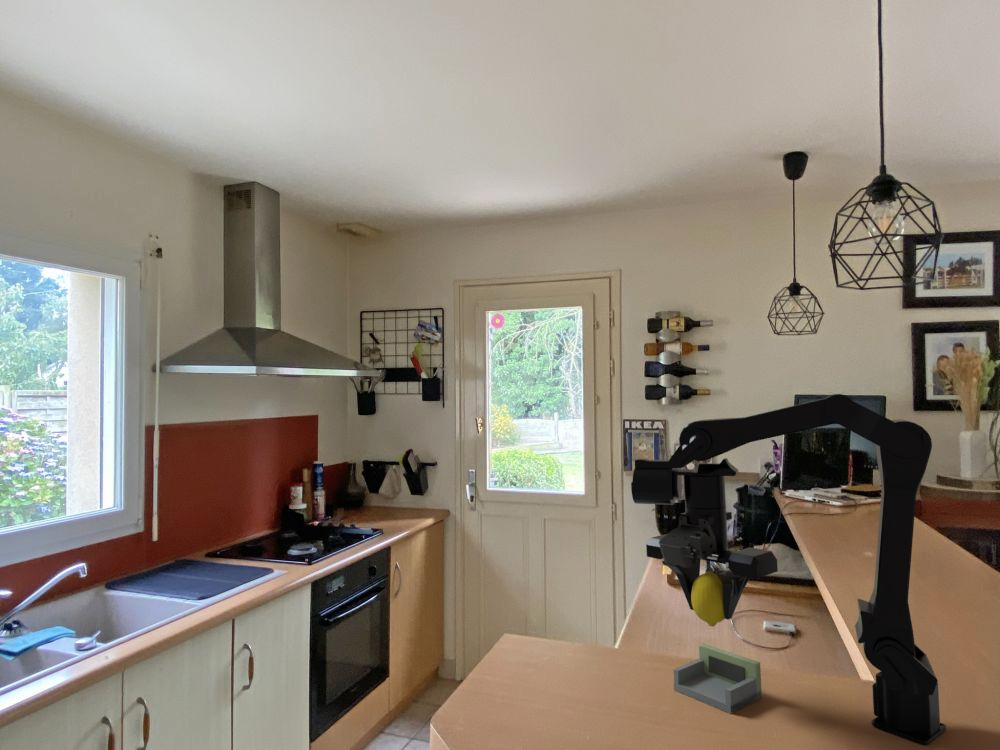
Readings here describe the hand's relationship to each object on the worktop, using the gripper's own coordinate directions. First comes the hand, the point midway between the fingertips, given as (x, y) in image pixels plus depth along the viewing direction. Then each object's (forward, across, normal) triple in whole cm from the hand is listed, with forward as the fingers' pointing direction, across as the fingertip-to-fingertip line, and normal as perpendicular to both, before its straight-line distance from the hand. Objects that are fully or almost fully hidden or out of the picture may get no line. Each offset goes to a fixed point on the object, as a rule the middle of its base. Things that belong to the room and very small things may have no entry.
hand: (710, 614), depth 95 cm
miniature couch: (+12, 0, +1) cm, 12 cm away
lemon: (+2, 0, 0) cm, 2 cm away
